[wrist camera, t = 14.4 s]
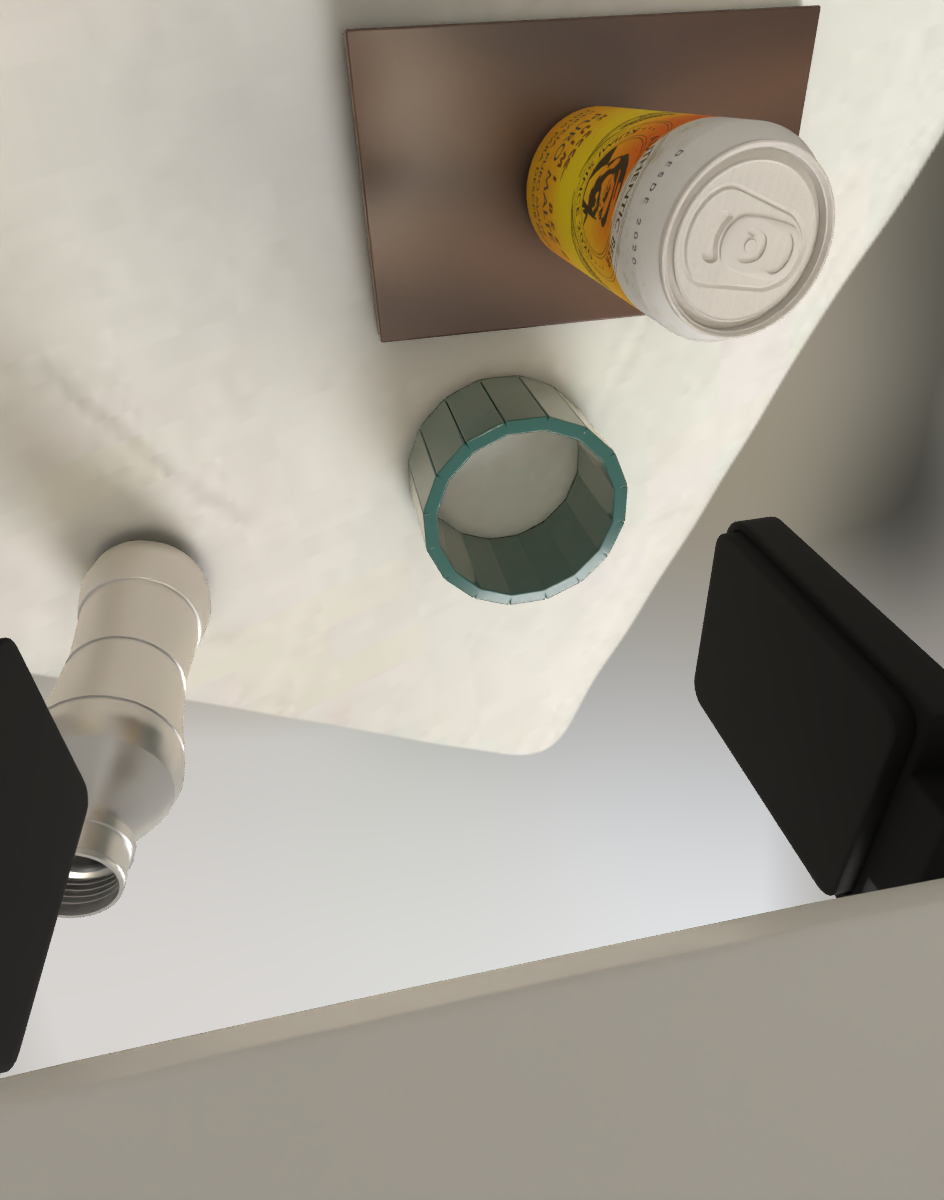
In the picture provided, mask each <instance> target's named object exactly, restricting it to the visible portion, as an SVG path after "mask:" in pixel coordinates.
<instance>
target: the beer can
mask: <svg viewBox="0 0 944 1200" xmlns="http://www.w3.org/2000/svg"><path fill="white" fill-rule="evenodd" d="M527 207H528V212H529V216H530V219H531V222H532V225H533V227H534V229H535V231H536V233H537V234H538V236H539V238H540V239H541V240H542V242H543V243H544V244H545V245H546V246H547V247H548V248H549V249H550V250H551V251H553V252H554V253H555V254H557V255H558V256H560V257H561V258H563V259H564V260H566V261H567V262H569V263H570V264H572V265H573V266H575V267H576V268H578V269H579V270H581V271H582V272H583V273H585V274H586V275H588V276H589V277H591V278H592V279H594V280H595V281H597V282H598V283H600V284H601V285H603V286H604V287H606V288H607V289H609V290H610V291H612V292H613V293H615V294H616V295H618V296H619V297H620V298H622V299H623V300H625V301H626V302H628V303H629V304H631V305H632V306H634V307H635V308H637V309H638V310H640V311H641V312H643V313H644V314H646V315H647V316H649V317H650V318H652V319H653V320H655V321H656V322H658V323H659V324H660V325H662V326H663V327H665V328H666V329H668V330H669V331H671V332H673V333H675V334H677V335H678V336H681V337H684V338H686V339H690V340H695V341H704V342H713V341H722V340H727V339H731V338H739V337H745V336H748V335H752V334H755V333H757V332H760V331H762V330H764V329H766V328H768V327H770V326H771V325H773V324H775V323H776V322H778V321H779V320H781V319H782V318H783V317H784V316H786V315H787V314H788V313H789V312H790V311H792V310H793V309H794V308H795V307H796V306H797V305H798V304H799V302H800V301H801V300H802V299H803V298H804V297H805V295H806V294H807V293H808V291H809V290H810V289H811V287H812V286H813V284H814V283H815V281H816V279H817V278H818V276H819V274H820V272H821V270H822V268H823V266H824V264H825V261H826V258H827V256H828V253H829V250H830V246H831V243H832V238H833V233H834V224H835V205H834V197H833V193H832V188H831V185H830V182H829V180H828V177H827V175H826V173H825V172H824V170H823V168H822V167H821V165H820V164H819V163H818V161H817V160H816V159H815V157H814V155H813V153H812V152H811V150H810V149H809V147H808V146H807V145H806V144H805V143H804V142H803V141H802V140H801V139H800V138H799V137H798V136H797V135H796V134H794V133H793V132H792V131H790V130H789V129H787V128H785V127H783V126H781V125H778V124H775V123H772V122H768V121H761V120H752V119H741V118H730V117H719V116H708V115H697V114H686V113H675V112H664V111H653V110H642V109H632V108H621V107H610V106H593V107H587V108H584V109H580V110H578V111H576V112H573V113H571V114H570V115H568V116H566V117H565V118H563V119H562V120H561V121H560V122H558V123H557V124H556V125H555V126H554V127H553V128H552V129H551V130H550V131H549V132H548V134H547V135H546V136H545V137H544V139H543V140H542V142H541V144H540V145H539V147H538V149H537V151H536V153H535V155H534V158H533V160H532V163H531V166H530V170H529V174H528V179H527Z"/></svg>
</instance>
